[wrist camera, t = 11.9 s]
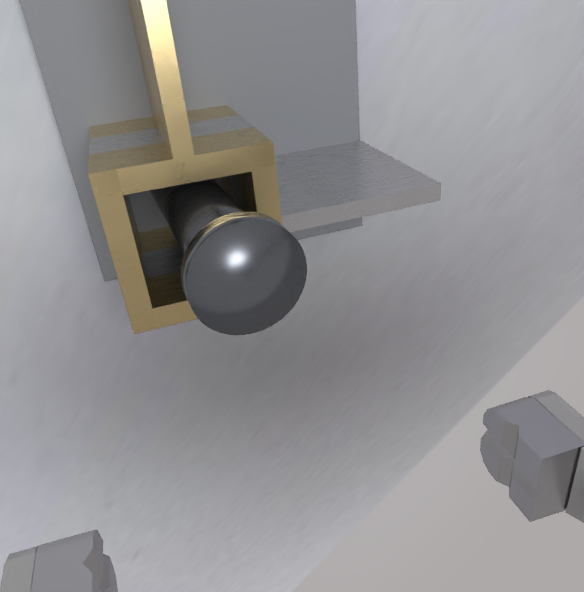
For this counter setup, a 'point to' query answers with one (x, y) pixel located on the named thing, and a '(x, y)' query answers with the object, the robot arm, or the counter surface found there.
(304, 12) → the mounting board
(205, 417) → the counter surface
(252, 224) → the hinge pin
